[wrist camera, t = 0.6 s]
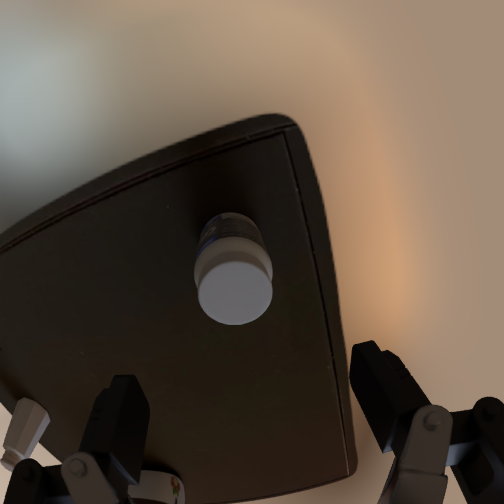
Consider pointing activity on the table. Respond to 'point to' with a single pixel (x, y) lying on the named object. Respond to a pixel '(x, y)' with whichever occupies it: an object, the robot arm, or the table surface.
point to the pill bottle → (233, 270)
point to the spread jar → (157, 487)
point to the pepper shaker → (24, 432)
